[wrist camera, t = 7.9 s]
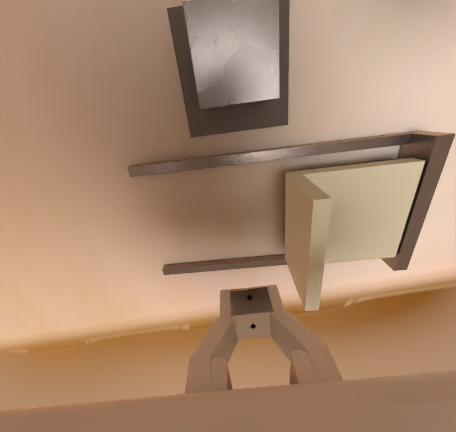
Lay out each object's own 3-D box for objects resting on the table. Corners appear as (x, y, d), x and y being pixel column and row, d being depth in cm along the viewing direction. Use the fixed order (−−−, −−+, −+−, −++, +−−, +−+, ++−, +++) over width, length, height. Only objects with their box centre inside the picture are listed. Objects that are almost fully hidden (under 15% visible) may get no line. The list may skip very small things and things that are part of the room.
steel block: (208, 110, 16) (199, 109, 11) (198, 38, 14) (182, 1, 9) (265, 103, 16) (279, 97, 11) (262, 27, 14) (278, -16, 9)
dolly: (281, 249, 22) (305, 310, 15) (281, 167, 18) (313, 200, 11) (375, 240, 21) (446, 300, 14) (397, 154, 17) (509, 179, 10)
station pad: (192, 136, 17) (191, 137, 17) (168, 11, 14) (167, 8, 13) (286, 124, 17) (287, 124, 16) (287, -10, 13) (289, -13, 13)
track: (166, 270, 24) (157, 289, 21) (131, 165, 18) (114, 174, 16) (385, 251, 22) (406, 269, 20) (419, 130, 17) (455, 133, 14)
